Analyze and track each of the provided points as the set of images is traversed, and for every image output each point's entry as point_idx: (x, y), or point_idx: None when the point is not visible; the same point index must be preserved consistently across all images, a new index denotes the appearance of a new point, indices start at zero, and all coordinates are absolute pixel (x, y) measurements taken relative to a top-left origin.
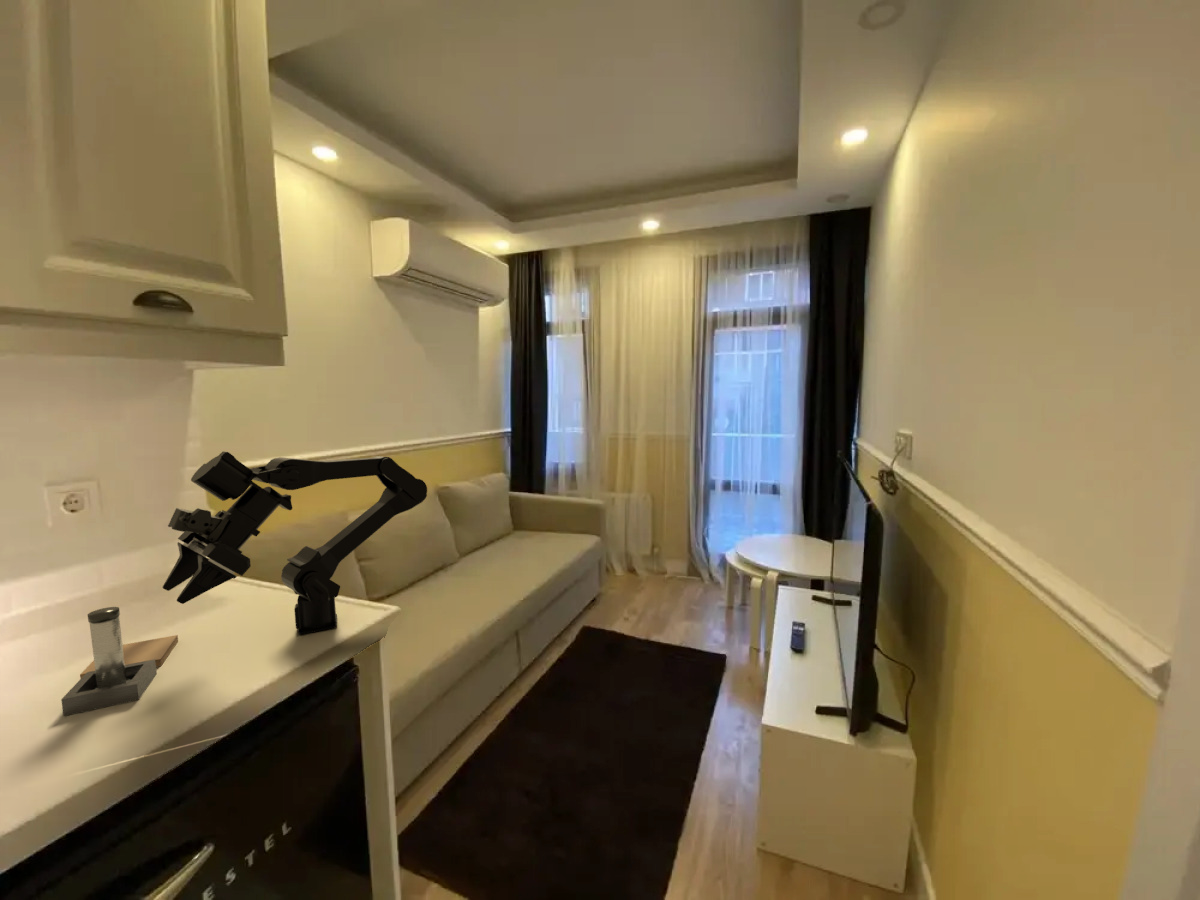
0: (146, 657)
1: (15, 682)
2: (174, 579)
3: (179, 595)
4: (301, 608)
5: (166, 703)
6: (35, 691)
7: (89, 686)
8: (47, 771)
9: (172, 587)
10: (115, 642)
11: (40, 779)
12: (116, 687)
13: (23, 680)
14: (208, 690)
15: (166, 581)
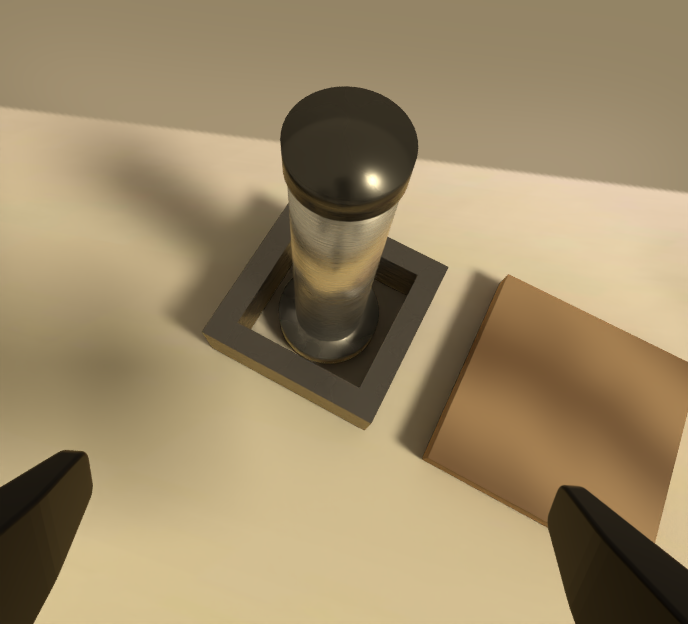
0: (486, 429)
1: (641, 196)
2: (600, 589)
3: (52, 473)
4: None
5: (117, 392)
6: (535, 212)
7: (381, 269)
8: (47, 158)
9: (556, 553)
10: (294, 250)
11: (27, 146)
12: (235, 289)
13: (641, 208)
14: None
15: (598, 519)
